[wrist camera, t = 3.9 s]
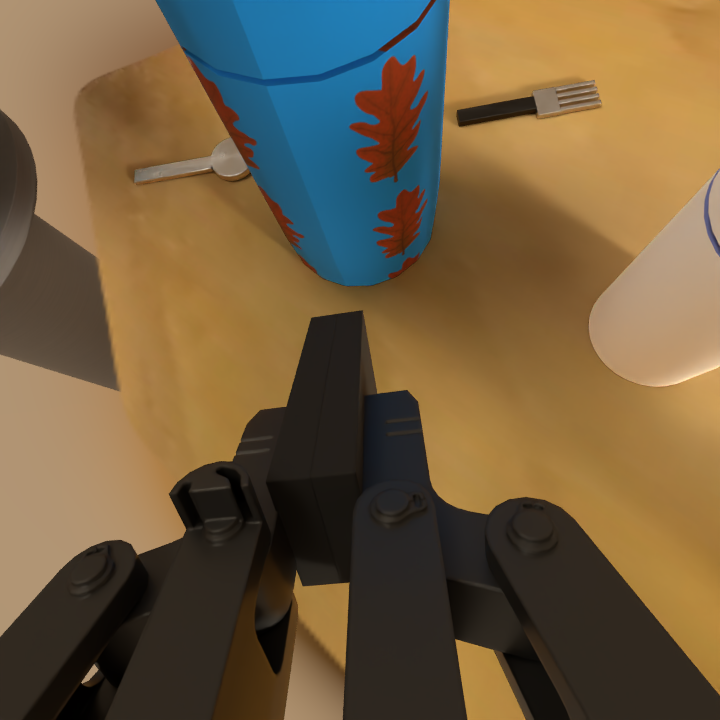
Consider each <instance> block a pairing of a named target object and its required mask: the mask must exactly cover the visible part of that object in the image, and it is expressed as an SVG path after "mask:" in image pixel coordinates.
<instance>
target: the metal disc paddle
mask: <svg viewBox="0 0 720 720" xmlns="http://www.w3.org/2000/svg"><path fill="white" fill-rule="evenodd" d="M213 170H214V171H215V173H216V174H217V175H218V176H219V177H220V178H222V179H224V180H228V181H235V180H239V179H242V178H244V177H246V176H247V175H249V174H250V171H249V169H248V167H247V165H246V164H245V162H244V160H243V158H242V156H241V154H240V153H239V151H238V149H237V147H236V145H235V144H234V142H233V140H232V138H228V139H225V140H223V141H222V142H220V143H219V144H218V145H217V146H216V147H215V148H214V150H213V152H212V154H211V156H207V157H202V158H196V159H191V160H185V161H180V162H175V163H169V164H164V165H158V166H153V167H147V168H142V169H136V170H135V173H134V183H135V184H136V185H141V184H147V183H152V182H158V181H163V180H169V179H174V178H180V177H186V176H191V175H197V174H202V173H208V172H213Z"/></svg>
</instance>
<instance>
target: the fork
mask: <svg viewBox="0 0 720 720" xmlns="http://www.w3.org/2000/svg"><path fill="white" fill-rule="evenodd" d="M594 85H595V80H592V81H586V82H581V83H576V84H570V85H565V86H559V87H551V88H546V89H541V90H535V91H532V96H531V97H526V98H521V99H515V100H510V101H504V102H499V103H493V104H488V105H482V106H477V107H472V108H466V109H461V110H457V120H458V125H459V126H465V125H470V124H476V123H481V122H487V121H493V120H498V119H504V118H509V117H515V116H520V115H526V114H531V113H535V112H536V115H537V119H540V118H545V117H551V116H556V115H560V114H565V113H570V112H576V111H581V110H587V109H593V108H598V107H600V105H601V100H598V98H599V93H597V94H596V92H597V87H594Z"/></svg>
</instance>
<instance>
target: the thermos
mask: <svg viewBox="0 0 720 720" xmlns="http://www.w3.org/2000/svg"><path fill="white" fill-rule="evenodd" d="M156 2H157V4H158V6H159V8H160V9H161V11H162V13H163V15H164V17H165V18H166V20H167V22H168V24H169V26H170V28H171V29H172V31H173V33H174V35H175V37H176V38H177V40H178V42H179V44H180V46H181V48H182V49H183V51H184V53H185V55H186V57H187V58H188V60H189V62H190V64H191V66H192V67H193V69H194V71H195V73H196V75H197V77H198V78H199V80H200V82H201V84H202V86H203V87H204V89H205V91H206V93H207V95H208V96H209V98H210V100H211V102H212V104H213V106H214V107H215V109H216V111H217V113H218V115H219V116H220V118H221V120H222V122H223V124H224V125H225V127H226V129H227V131H228V133H229V135H230V136H231V138H232V140H233V142H234V144H235V145H236V147H237V149H238V151H239V153H240V154H241V156H242V158H243V160H244V162H245V164H246V165H247V167H248V169H249V171H250V173H251V174H252V176H253V178H254V180H255V182H256V183H257V185H258V187H259V189H260V191H261V192H262V194H263V196H264V198H265V200H266V202H267V203H268V205H269V207H270V209H271V211H272V212H273V214H274V216H275V218H276V220H277V221H278V223H279V225H280V227H281V228H282V230H283V232H284V234H285V236H286V237H287V239H288V241H289V242H290V243H291V245H292V246H293V248H294V249H295V251H296V252H297V254H298V255H299V257H300V258H301V260H302V261H303V263H304V264H305V265H306V266H308V267H309V268H310V269H311V270H313V271H314V272H315V273H316V274H318V275H319V276H320V277H321V278H323V279H326V280H329V281H332V282H335V283H338V284H341V285H345V286H368V285H375V284H378V283H380V282H383V281H386V280H389V279H391V278H394V277H397V276H398V275H400V274H401V273H402V272H403V271H405V270H406V269H407V268H408V267H410V266H411V265H412V264H413V263H415V262H416V261H417V260H418V259H419V257H420V255H421V254H422V252H423V250H424V249H425V247H426V246H427V244H428V242H429V241H430V239H431V234H432V228H433V223H434V217H435V211H436V204H437V197H438V190H439V183H440V166H441V148H442V130H443V112H444V94H445V76H446V58H447V40H448V22H449V3H450V0H156Z"/></svg>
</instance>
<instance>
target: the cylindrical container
mask: <svg viewBox="0 0 720 720" xmlns="http://www.w3.org/2000/svg"><path fill="white" fill-rule="evenodd" d="M589 334H590V339H591V342H592V345H593V348H594V350H595V351H596V353H597V355H598V356H599V358H600V359H601V360H602V361H603V363H604V364H605V365H606V366H607V367H608V368H609V369H611V370H612V371H613V372H614V373H616V374H617V375H619V376H621V377H623V378H624V379H626V380H629V381H631V382H634V383H637V384H640V385H646V386H669V385H674V384H678V383H681V382H683V381H685V380H688V379H690V378H693V377H695V376H698V375H700V374H703V373H705V372H708V371H710V370H713V369H715V368H718V367H720V169H719V170H718V171H717V172H716V173H715V174H714V175H713V176H712V177H711V178H710V179H709V180H708V181H707V182H706V184H705V185H704V186H703V187H702V188H701V189H700V190H699V191H698V192H697V193H696V194H695V195H694V196H693V197H692V198H691V199H690V201H689V202H688V203H687V204H686V205H685V206H684V207H683V208H682V209H681V210H680V211H679V212H678V213H677V214H676V215H675V216H674V218H673V219H672V220H671V221H670V222H669V223H668V224H667V225H666V226H665V227H664V228H663V229H662V230H661V231H660V232H659V234H658V235H657V236H656V237H655V238H654V239H653V240H652V241H651V242H650V243H649V244H648V245H647V246H646V247H645V248H644V249H643V251H642V252H641V253H640V254H639V255H638V256H637V257H636V258H635V259H634V260H633V261H632V262H631V263H630V264H629V266H628V267H627V268H626V269H625V270H624V271H623V272H622V273H621V274H620V275H619V276H618V277H617V278H616V279H615V280H614V282H613V283H612V284H611V285H610V286H609V287H608V288H607V289H606V290H605V291H604V292H603V293H602V294H601V295H600V297H599V298H598V299H597V301H596V302H595V304H594V305H593V308H592V311H591V314H590V317H589Z"/></svg>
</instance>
